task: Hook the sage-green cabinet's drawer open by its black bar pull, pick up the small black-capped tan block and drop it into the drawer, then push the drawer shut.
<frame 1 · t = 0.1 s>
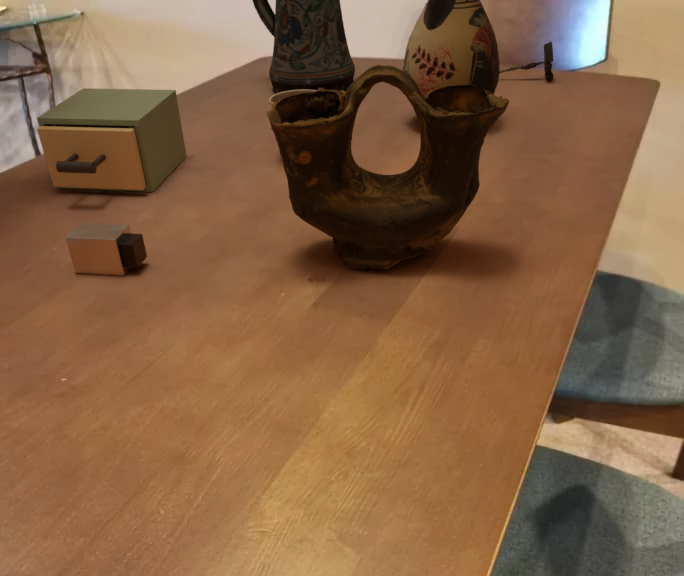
artificial flower: (493, 82, 141), on the table
flower pot: (304, 160, 111), on the table
beer stein: (305, 89, 141), on the table
drawer: (103, 149, 102), point 5 cm above the table, slide at 0.5 cm
pottery vessel: (383, 255, 85), on the table
ceramic jug: (443, 126, 121), on the table
cabinet: (124, 172, 108), on the table
black-capped tan block: (113, 267, 85), on the table
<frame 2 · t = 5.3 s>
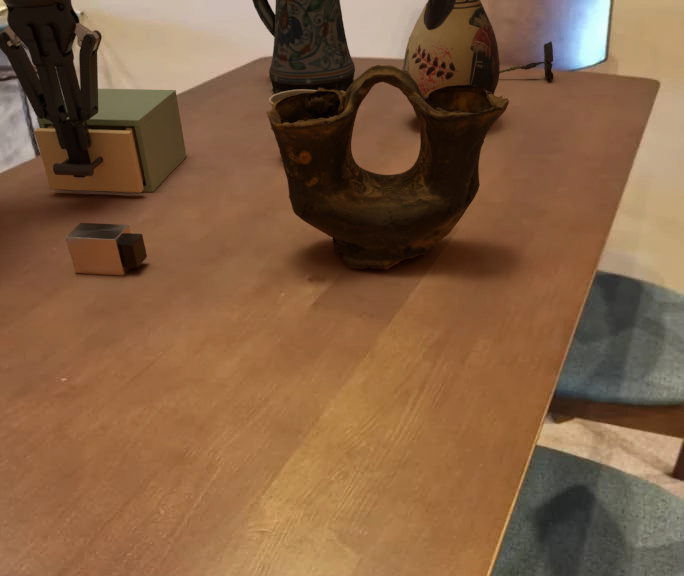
hand: (83, 173, 97), 4 cm above the table, tool pointing down, fingers closed
drawer: (101, 151, 101), point 5 cm above the table, slide at 1.4 cm, touching gripper
everything else where it was.
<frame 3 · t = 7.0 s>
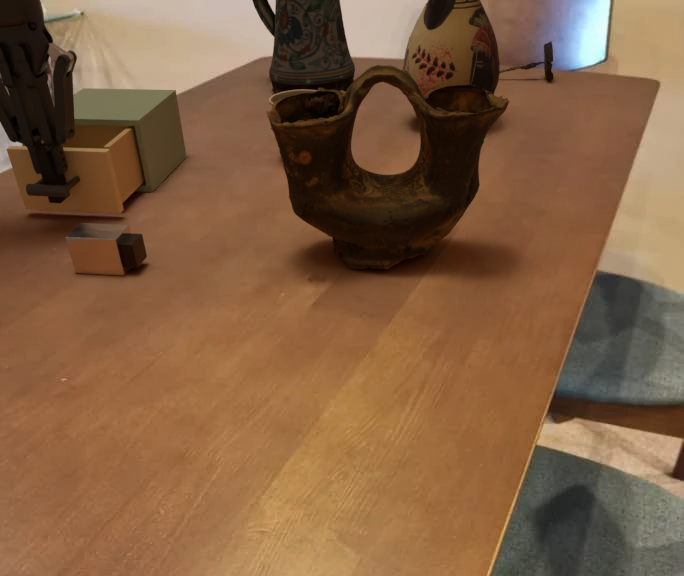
hand: (59, 198, 92), 3 cm above the table, tool pointing down, fingers closed
drawer: (78, 169, 96), point 5 cm above the table, slide at 8.5 cm, touching gripper
everything else where it was.
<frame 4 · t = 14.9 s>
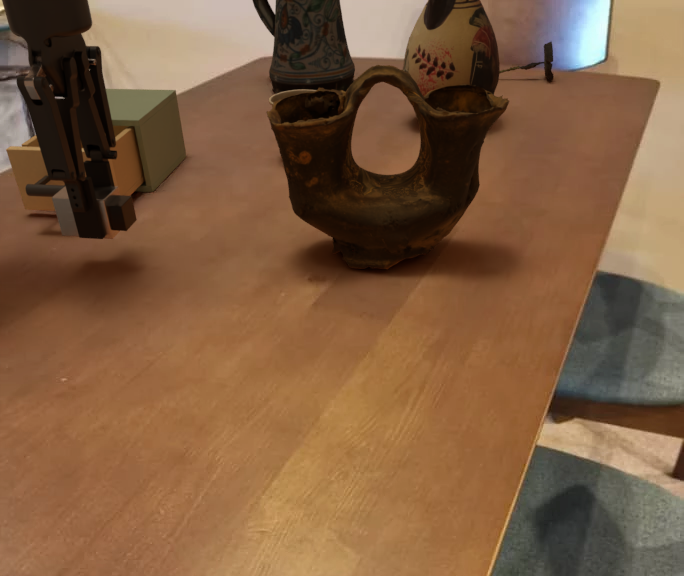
hand: (101, 227, 81), 5 cm above the table, tool pointing down, fingers closed on black-capped tan block, 4 cm apart
drawer: (78, 170, 96), point 5 cm above the table, slide at 8.6 cm
black-capped tan block: (101, 230, 82), point 4 cm above the table, touching gripper
everything else where it was.
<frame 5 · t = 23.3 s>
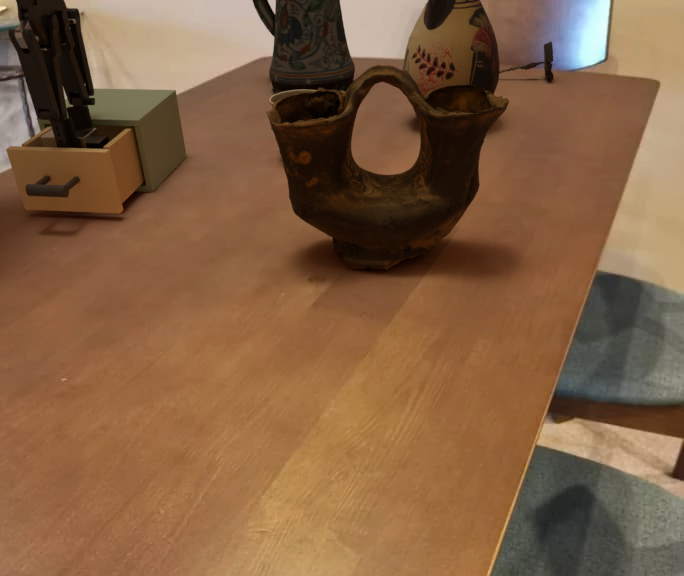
hand: (82, 164, 96), 5 cm above the table, tool pointing down, fingers closed on black-capped tan block, 4 cm apart
black-capped tan block: (83, 166, 97), point 5 cm above the table, touching gripper
everything else where it was.
when the fingers open (7 cm above the table, at t = 26.1 s): black-capped tan block drops 5 cm, resting on drawer.
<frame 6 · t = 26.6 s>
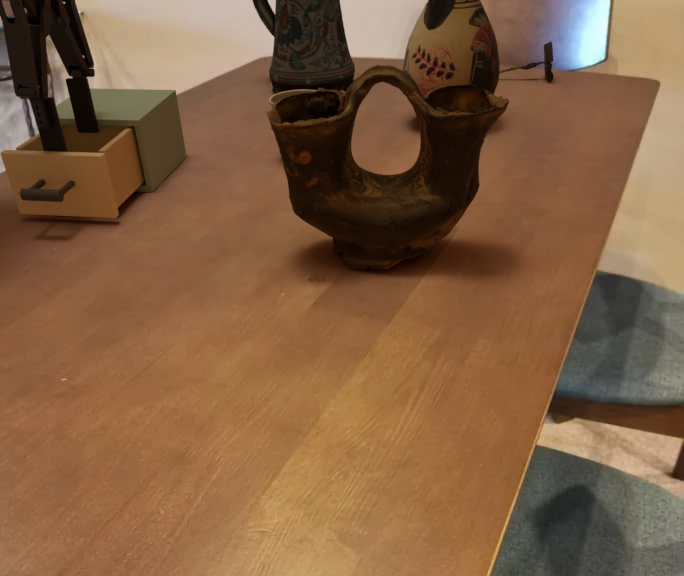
hand: (73, 142, 94), 8 cm above the table, tool pointing down, fingers open, 9 cm apart
drawer: (73, 173, 95), point 5 cm above the table, slide at 10.1 cm, touching black-capped tan block, gripper
black-capped tan block: (83, 191, 97), point 2 cm above the table, touching drawer
everything else where it was.
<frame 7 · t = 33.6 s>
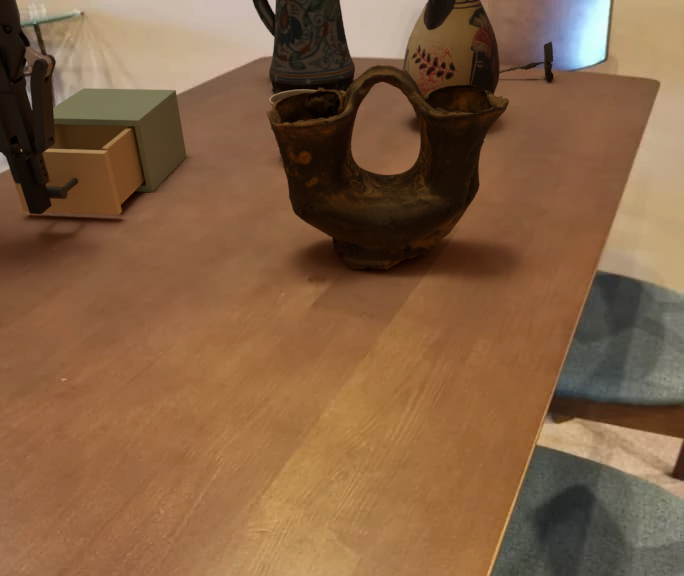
hand: (40, 209, 88), 4 cm above the table, tool pointing down, fingers closed
drawer: (76, 171, 95), point 5 cm above the table, slide at 9.1 cm, touching black-capped tan block, gripper
everything else where it was.
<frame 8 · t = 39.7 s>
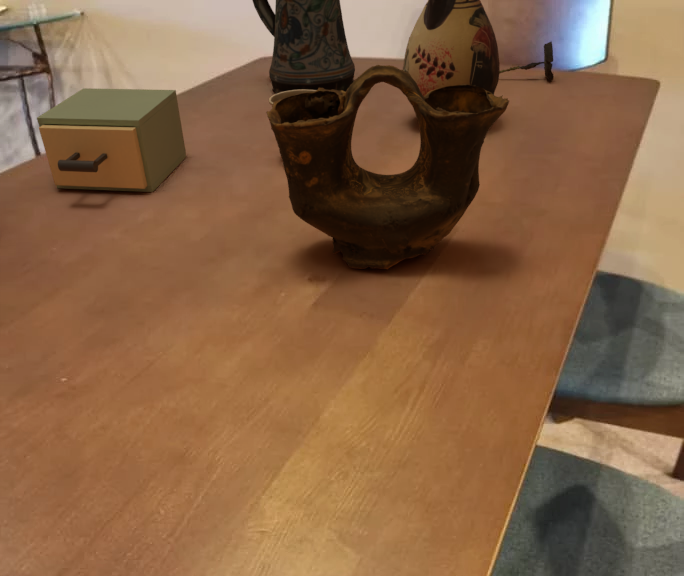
drawer: (105, 148, 102), point 5 cm above the table, slide at 0.0 cm, touching cabinet, black-capped tan block
black-capped tan block: (113, 164, 105), point 2 cm above the table, touching drawer
everything else where it was.
at the end: drawer pulled out 10.1 cm at the most during the clip, back to where it started at the end; black-capped tan block inside the target area in the cabinet (0.8 cm from its centre), point 2.0 cm above the cabinet's base; drawer slide at 0.0 cm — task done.
